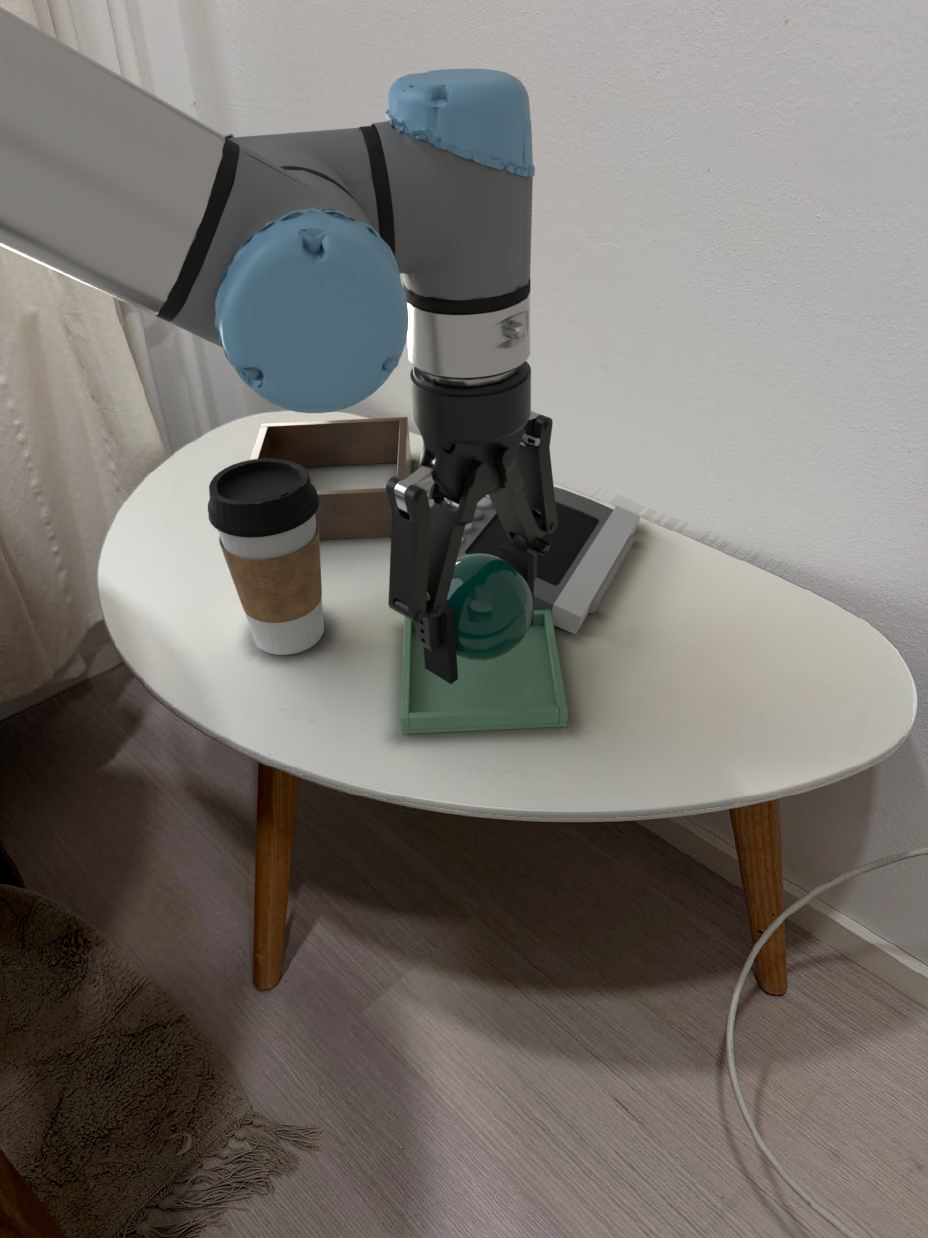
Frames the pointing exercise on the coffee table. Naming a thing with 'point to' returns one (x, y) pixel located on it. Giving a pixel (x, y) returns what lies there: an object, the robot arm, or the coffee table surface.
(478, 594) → the sphere
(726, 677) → the coffee table surface
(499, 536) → the alarm clock
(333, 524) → the box
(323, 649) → the coffee table surface
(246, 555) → the coffee cup
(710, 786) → the coffee table surface
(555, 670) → the tray
